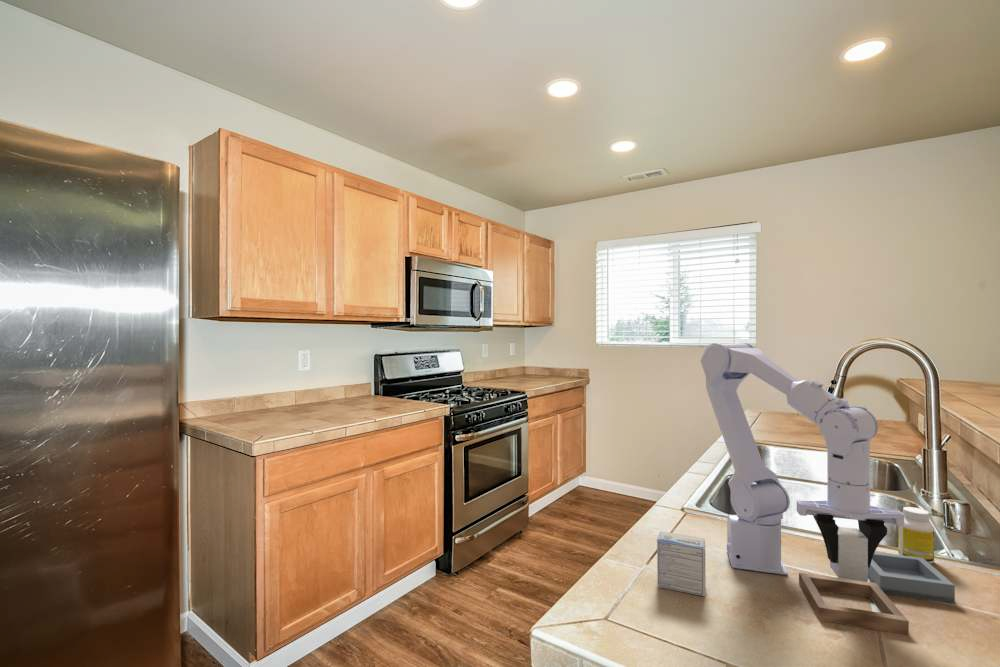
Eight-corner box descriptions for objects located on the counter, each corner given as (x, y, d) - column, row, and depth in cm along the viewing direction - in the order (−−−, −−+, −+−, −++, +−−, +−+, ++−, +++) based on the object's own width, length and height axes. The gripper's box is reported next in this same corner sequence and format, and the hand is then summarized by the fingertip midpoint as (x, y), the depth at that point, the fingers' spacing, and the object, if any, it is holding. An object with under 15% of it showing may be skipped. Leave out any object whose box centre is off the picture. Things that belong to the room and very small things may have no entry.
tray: (880, 592, 83) (880, 575, 83) (857, 565, 93) (856, 549, 93) (954, 603, 80) (954, 585, 80) (922, 573, 90) (922, 557, 90)
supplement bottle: (941, 566, 92) (941, 516, 92) (909, 564, 94) (908, 514, 94) (922, 554, 98) (922, 506, 98) (892, 551, 99) (892, 504, 99)
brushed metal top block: (838, 578, 78) (838, 535, 78) (830, 566, 82) (830, 525, 82) (867, 582, 76) (867, 538, 76) (858, 570, 80) (857, 528, 80)
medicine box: (705, 585, 86) (705, 537, 86) (705, 598, 82) (704, 547, 82) (659, 576, 89) (659, 530, 89) (656, 587, 85) (656, 539, 85)
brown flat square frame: (819, 619, 75) (818, 607, 75) (798, 583, 86) (798, 572, 86) (908, 634, 72) (908, 621, 72) (875, 594, 83) (875, 583, 83)
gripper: (804, 483, 78) (804, 566, 78) (914, 492, 73) (914, 581, 73) (793, 471, 84) (793, 548, 84) (892, 479, 80) (892, 560, 80)
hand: (848, 562), depth 79 cm, fingers closed on brushed metal top block, 4 cm apart
